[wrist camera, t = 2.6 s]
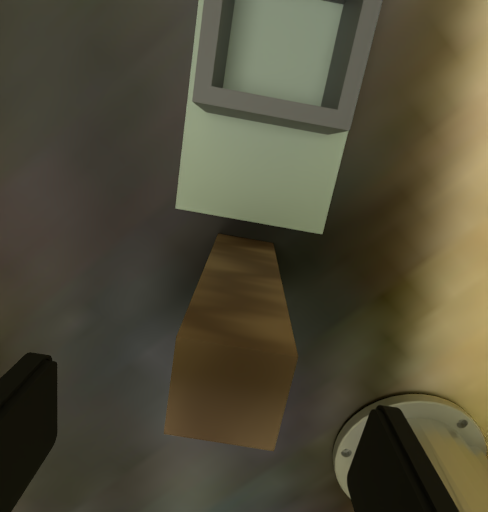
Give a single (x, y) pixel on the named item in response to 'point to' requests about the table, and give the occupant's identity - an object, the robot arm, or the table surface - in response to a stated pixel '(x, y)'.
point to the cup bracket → (272, 107)
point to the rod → (233, 350)
